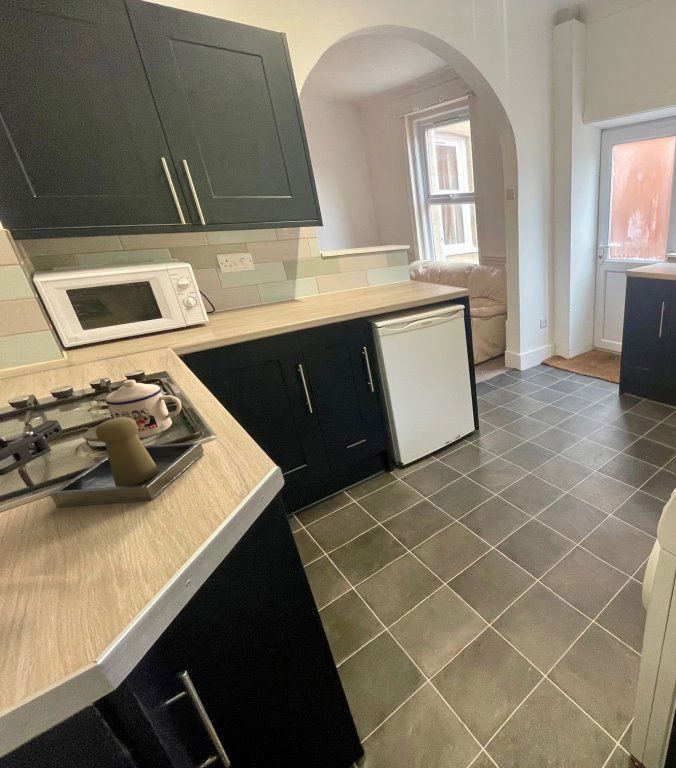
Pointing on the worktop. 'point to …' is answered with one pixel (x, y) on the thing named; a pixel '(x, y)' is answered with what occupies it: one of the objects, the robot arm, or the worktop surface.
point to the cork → (126, 451)
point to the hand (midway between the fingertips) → (23, 428)
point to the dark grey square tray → (103, 490)
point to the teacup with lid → (142, 407)
